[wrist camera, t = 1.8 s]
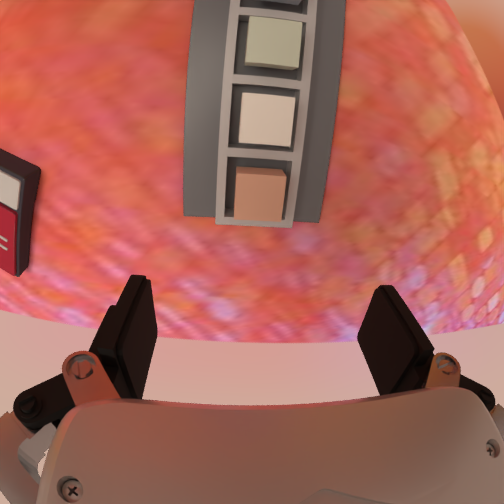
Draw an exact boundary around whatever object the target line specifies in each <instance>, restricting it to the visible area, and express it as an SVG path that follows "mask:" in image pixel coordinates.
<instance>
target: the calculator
mask: <svg viewBox="0 0 504 504" xmlns="http://www.w3.org/2000/svg"><path fill="white" fill-rule="evenodd" d="M40 174H41V169H40V168H39V167H38V166H35V165H33V164H31V163H29V162H27V161H25V160H23V159H21V158H19V157H17V156H15V155H13V154H10V153H8V152H6V151H4V150H2V149H0V268H2V269H3V270H5V271H6V272H8V273H10V274H11V275H13V276H17V277H19V276H20V275H21V274H22V273H23V271H24V270H25V269H26V268H27V267H28V263H29V249H30V235H31V224H32V214H33V206H34V202H35V200H36V194H37V189H38V184H39V179H40Z"/></svg>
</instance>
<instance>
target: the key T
mask: <svg viewBox="0 0 504 504" xmlns="http://www.w3.org/2000/svg"><path fill="white" fill-rule="evenodd" d="M261 1H271V2H279V3H286V4H293V5H299V3H300V2H301V1H302V0H261Z"/></svg>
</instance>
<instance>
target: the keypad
mask: <svg viewBox="0 0 504 504" xmlns="http://www.w3.org/2000/svg"><path fill="white" fill-rule="evenodd" d="M345 4H346V0H302V1H301V2H300V3H299V5H293V4H286V3H279V2H271V1H261V0H195V2H194V9H193V18H192V27H191V36H190V47H189V58H188V71H187V85H186V103H185V125H184V165H183V208H184V216H196V217H216V218H215V224H218V225H241V226H262V227H281V228H292V225H293V221H299V222H314V223H319V219H320V214H321V208H322V202H323V197H324V191H325V185H326V179H327V173H328V166H329V160H330V153H331V146H332V139H333V132H334V124H335V116H336V108H337V100H338V91H339V82H340V72H341V61H342V50H343V37H344V23H345ZM250 16H256V17H267V18H275V19H283V20H290V21H297V22H302V34H301V46H300V57H299V68H297V69H294V70H285V69H277V68H268V67H257V66H244V63H245V52H246V41H247V30H248V22H249V17H250ZM242 93H256V94H268V95H277V96H286V97H294V98H295V108H294V117H293V126H292V135H291V144H290V147H288V146H278V145H266V144H252V143H239V139H238V138H239V124H240V111H241V99H242ZM237 166H239V167H255V168H270V169H282V170H283V172H284V173H285V175H286V176H287V178H286V187H285V195H284V203H283V210H282V218H281V222H273V221H255V220H234V198H235V182H236V167H237Z"/></svg>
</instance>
